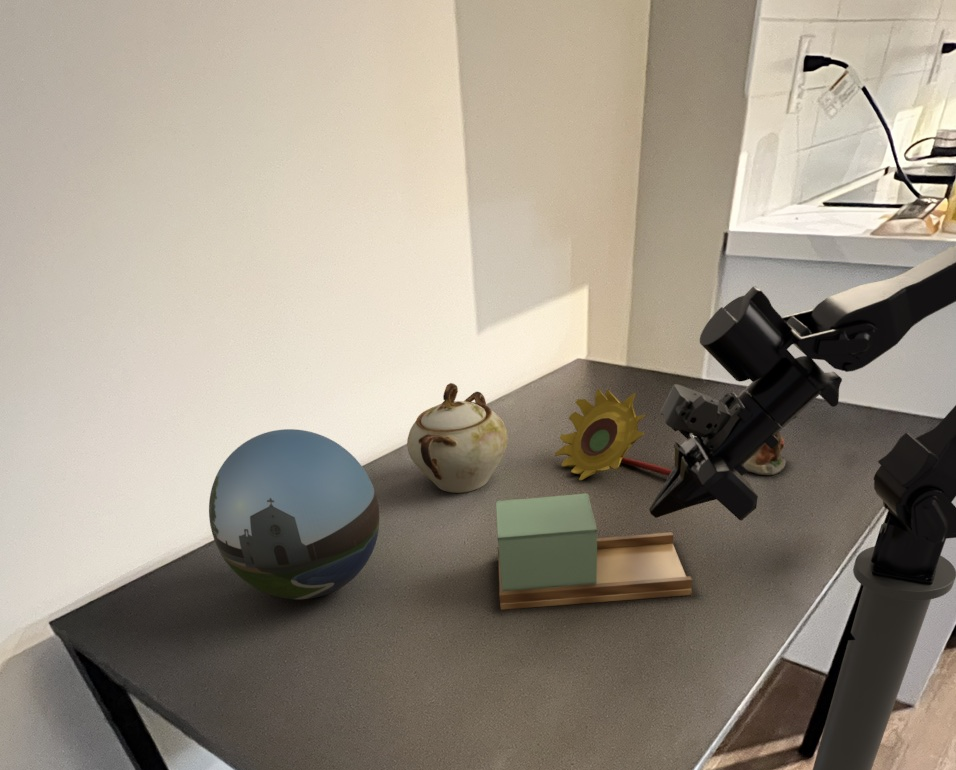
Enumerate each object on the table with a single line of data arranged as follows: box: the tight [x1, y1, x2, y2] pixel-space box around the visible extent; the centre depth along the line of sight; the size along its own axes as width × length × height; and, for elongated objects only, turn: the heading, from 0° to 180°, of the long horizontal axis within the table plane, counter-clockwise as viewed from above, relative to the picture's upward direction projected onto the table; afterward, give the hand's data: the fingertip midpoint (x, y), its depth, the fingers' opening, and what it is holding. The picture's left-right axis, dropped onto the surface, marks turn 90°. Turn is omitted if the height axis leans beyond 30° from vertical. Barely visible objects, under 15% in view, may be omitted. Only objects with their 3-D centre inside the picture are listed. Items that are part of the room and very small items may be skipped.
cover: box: [495, 492, 598, 591], centre depth 88 cm, size 11×9×8 cm
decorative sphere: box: [208, 428, 380, 600], centre depth 88 cm, size 20×20×20 cm
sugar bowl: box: [406, 382, 509, 494], centre depth 110 cm, size 20×15×15 cm
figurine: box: [744, 415, 798, 476], centre depth 104 cm, size 9×8×15 cm
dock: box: [497, 531, 693, 611], centre depth 90 cm, size 22×12×2 cm, turn 90°
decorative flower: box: [554, 388, 672, 481], centre depth 108 cm, size 13×8×30 cm
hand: (652, 514), depth 85 cm, fingers closed
